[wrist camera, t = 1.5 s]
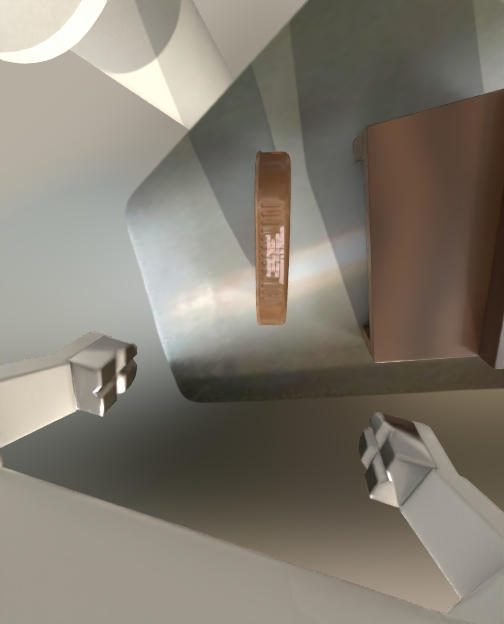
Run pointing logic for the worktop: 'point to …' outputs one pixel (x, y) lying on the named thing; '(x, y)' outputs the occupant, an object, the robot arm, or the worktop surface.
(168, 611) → the robot arm
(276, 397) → the worktop surface
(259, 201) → the tin
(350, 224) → the worktop surface
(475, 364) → the worktop surface
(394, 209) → the shelf
